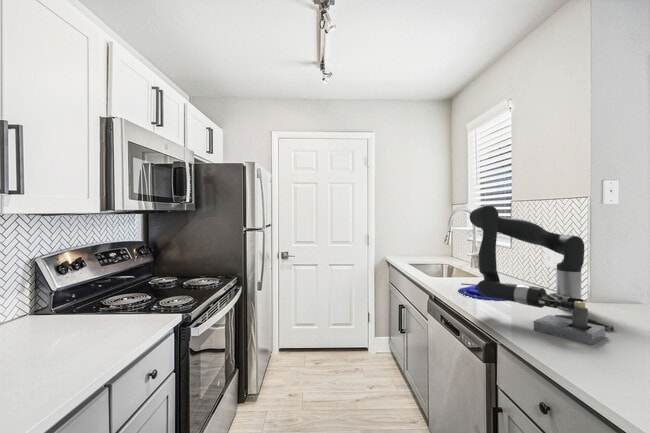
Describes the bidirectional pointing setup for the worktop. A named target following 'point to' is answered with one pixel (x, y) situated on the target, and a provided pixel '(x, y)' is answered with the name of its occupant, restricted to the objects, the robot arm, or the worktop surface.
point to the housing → (569, 329)
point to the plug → (580, 316)
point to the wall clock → (475, 293)
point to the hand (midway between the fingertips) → (578, 304)
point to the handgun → (591, 322)
